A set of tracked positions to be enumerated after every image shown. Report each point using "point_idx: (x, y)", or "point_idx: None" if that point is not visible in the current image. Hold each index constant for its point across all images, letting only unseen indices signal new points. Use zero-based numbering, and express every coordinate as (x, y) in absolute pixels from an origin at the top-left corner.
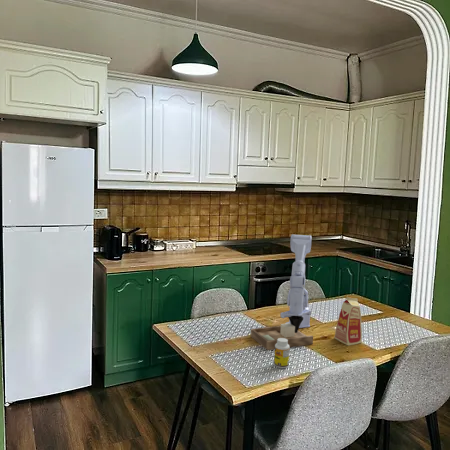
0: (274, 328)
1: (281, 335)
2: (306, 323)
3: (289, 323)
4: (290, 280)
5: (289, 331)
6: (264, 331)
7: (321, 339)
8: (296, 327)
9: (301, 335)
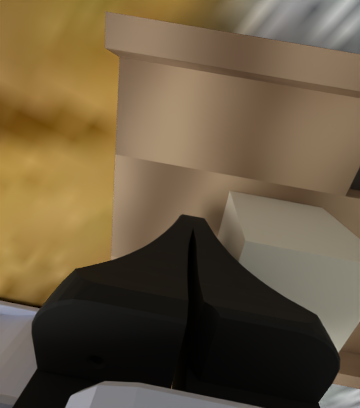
0: None
1: None
2: None
3: None
4: None
5: (306, 225)
6: (348, 353)
7: (4, 99)
8: (202, 237)
9: (155, 179)
